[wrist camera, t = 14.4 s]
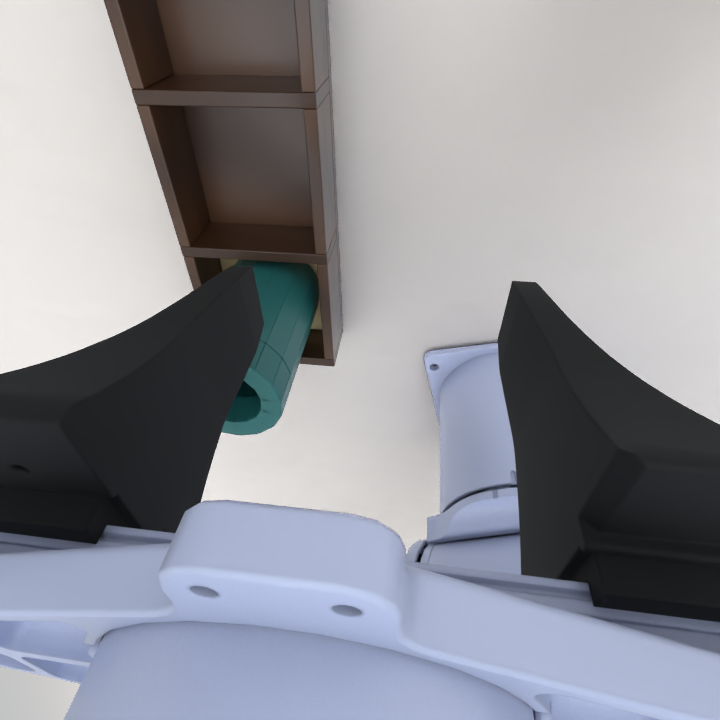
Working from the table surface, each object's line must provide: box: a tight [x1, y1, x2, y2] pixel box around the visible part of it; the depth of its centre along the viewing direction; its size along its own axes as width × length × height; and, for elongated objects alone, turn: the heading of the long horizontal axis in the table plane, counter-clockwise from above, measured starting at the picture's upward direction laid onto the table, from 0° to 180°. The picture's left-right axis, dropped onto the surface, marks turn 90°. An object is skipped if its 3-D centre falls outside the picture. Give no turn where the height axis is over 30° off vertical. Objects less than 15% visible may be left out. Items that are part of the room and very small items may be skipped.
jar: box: [221, 260, 319, 435], centre depth 21 cm, size 5×5×8 cm
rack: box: [104, 0, 343, 366], centre depth 19 cm, size 19×7×3 cm, turn 1°
